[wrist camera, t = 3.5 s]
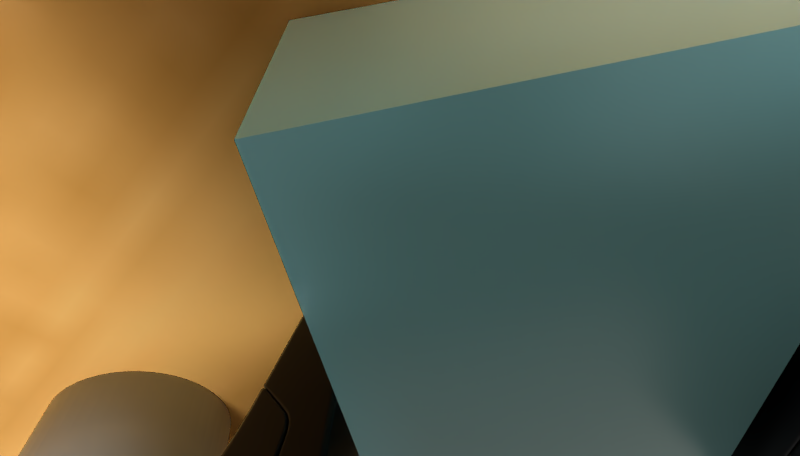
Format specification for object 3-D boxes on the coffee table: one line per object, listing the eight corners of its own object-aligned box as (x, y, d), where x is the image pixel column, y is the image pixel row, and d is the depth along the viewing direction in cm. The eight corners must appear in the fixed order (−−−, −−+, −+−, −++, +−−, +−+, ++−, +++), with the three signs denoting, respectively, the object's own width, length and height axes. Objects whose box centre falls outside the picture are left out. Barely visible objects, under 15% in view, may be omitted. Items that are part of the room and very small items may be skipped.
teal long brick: (534, 333, 13) (669, 557, 8) (383, 370, 13) (427, 627, 8) (556, -30, 8) (1020, -21, 3) (289, 20, 7) (234, 139, 2)
